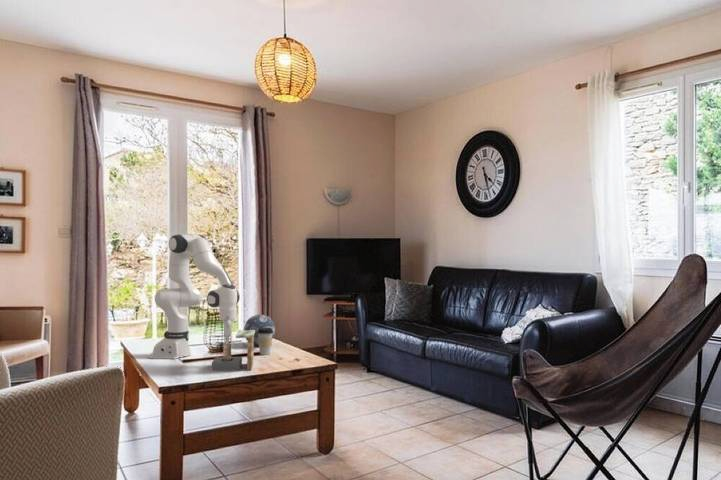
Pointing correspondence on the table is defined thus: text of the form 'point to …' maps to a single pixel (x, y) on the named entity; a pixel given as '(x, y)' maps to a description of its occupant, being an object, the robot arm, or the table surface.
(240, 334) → the awning
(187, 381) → the table surface
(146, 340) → the table surface
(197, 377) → the table surface
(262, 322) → the decorative ball
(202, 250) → the robot arm
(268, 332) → the coffee cup
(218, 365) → the socket
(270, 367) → the table surface
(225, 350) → the beech peg
